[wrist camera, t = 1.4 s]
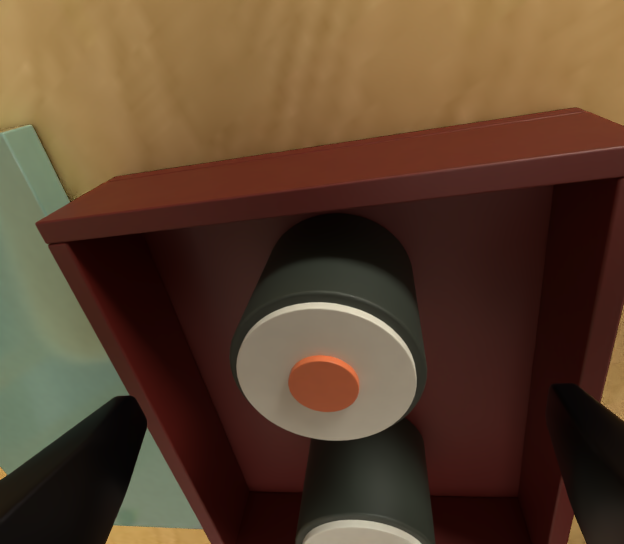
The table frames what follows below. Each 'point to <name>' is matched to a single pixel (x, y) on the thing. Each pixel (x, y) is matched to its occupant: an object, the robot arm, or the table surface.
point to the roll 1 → (332, 332)
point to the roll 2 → (367, 490)
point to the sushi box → (430, 298)
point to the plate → (58, 342)
